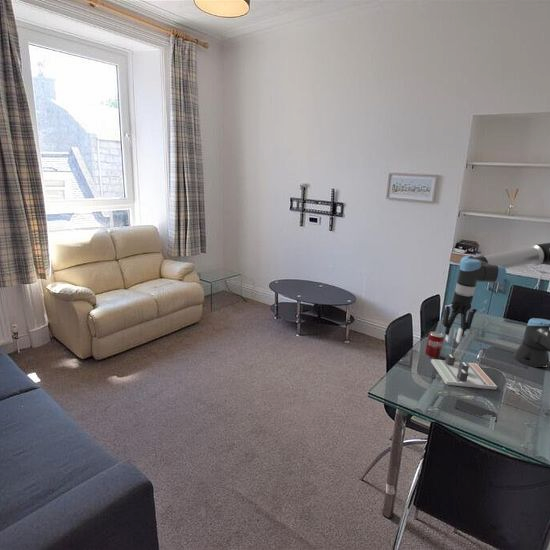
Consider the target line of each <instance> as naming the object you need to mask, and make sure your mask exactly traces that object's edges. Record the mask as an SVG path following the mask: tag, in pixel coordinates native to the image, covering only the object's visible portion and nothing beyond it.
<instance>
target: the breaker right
mask: <svg viewBox="0 0 550 550" xmlns="http://www.w3.org/2000/svg"><path fill="white" fill-rule="evenodd" d="M467 377H468V373H467V372H466V370H463V369H461V370H458V374H457V378H458V380H459V381H466V380H467Z"/></svg>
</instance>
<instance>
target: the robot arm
mask: <svg viewBox="0 0 550 550" xmlns="http://www.w3.org/2000/svg"><path fill="white" fill-rule="evenodd" d="M526 265H534V266H541V265H544V266H545V265H547V266H550V242H544V243H539V244H533V245H531V246H530V247H528V248H521V249H515V250H510V251H504V252H498V253H493V254H492V253H491V254H487V255H486V254H485V255H480V256H473V255H464V256H462V258H461V259H460V262H459V271H458V276H457V280H456V285H455V289H454V293H453V298H452V302H451V303H450V304H448V305H447V304H444V314H443V319H442V326H443V327H445V330H444V334H445V337H444V340H445V341H446V342H447V343H450V339H451V337H452V331H453V328H452V326H453V324H454V322H455V320H456V318H457V316H458V315H460V327H458V330H457V333H456V336H455V337H456V338H455V342H456V344H460V343H461V341H462V337H464V334H465V332H466V331H467V330H470V329H471V327H472V324H473V319H474V316H475V314H476V312H477V311H478V310H477V309H476V308H475V307H474V306H472V303H473V298H474V294H475V290H476V287H477V283H478V282H481V283H493V284H494V283H503V282H504V281H505V279H506V277H507V270H506V269H509V268H515V267H519V266H526ZM451 310H452V311H451ZM467 312H468V315H467ZM549 353H550V319H545V318H538V317H537V318H535V317H532V318H530V319H529V320H528V322H527V324H526V327H525V331H524V335H523V337H522V341H521V343H520V345H519V346H518V348H517V349H516V350H515V351H514V353H513V357H514V359H515V360H516V361H518V362H520V363H521V362H522V363H521V364H524V365H527V366H529V367H532V366H534V367H533V368H536V367H543V366H546V365H548V366H549V364H550V357H549Z"/></svg>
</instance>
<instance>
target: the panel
mask: <svg viewBox="0 0 550 550" xmlns="http://www.w3.org/2000/svg"><path fill="white" fill-rule="evenodd" d="M460 362H461V363H462V362H464V361H456V360H455V361H454V365H447V364H446V362H445V360H443V359H437V358H436V359H435V358H431V359H430V363H431V364H432V366H433V367H434V368H435V370H436V371H437V373H438V374H439V375H440V378H442V380H443V382H444V383H445V384H447V385H449V386H459V387H466V388H467V387H469V388H478V389H488V390H497V389H498V386H497V385H496V383H495V382H494V381H493V380H492V379H491V378H490V377H489V376H488V375H487V374H486V373H485V371H484V370H483V369H482V368H481V367H480V366H479V365H478V364H477V363H476V362H475V363H474V362H464V363H467V364H468V366H469V369H468V377H467V380H466V381H459V380H458V378H457V374H458V368H459V364H460Z"/></svg>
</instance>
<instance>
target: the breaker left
mask: <svg viewBox="0 0 550 550" xmlns="http://www.w3.org/2000/svg"><path fill="white" fill-rule="evenodd" d="M454 361H456V357H455V356H454V354H450V353H449V354H448V353H447V354H446V356H445V362H446V364H447V365H454Z"/></svg>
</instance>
